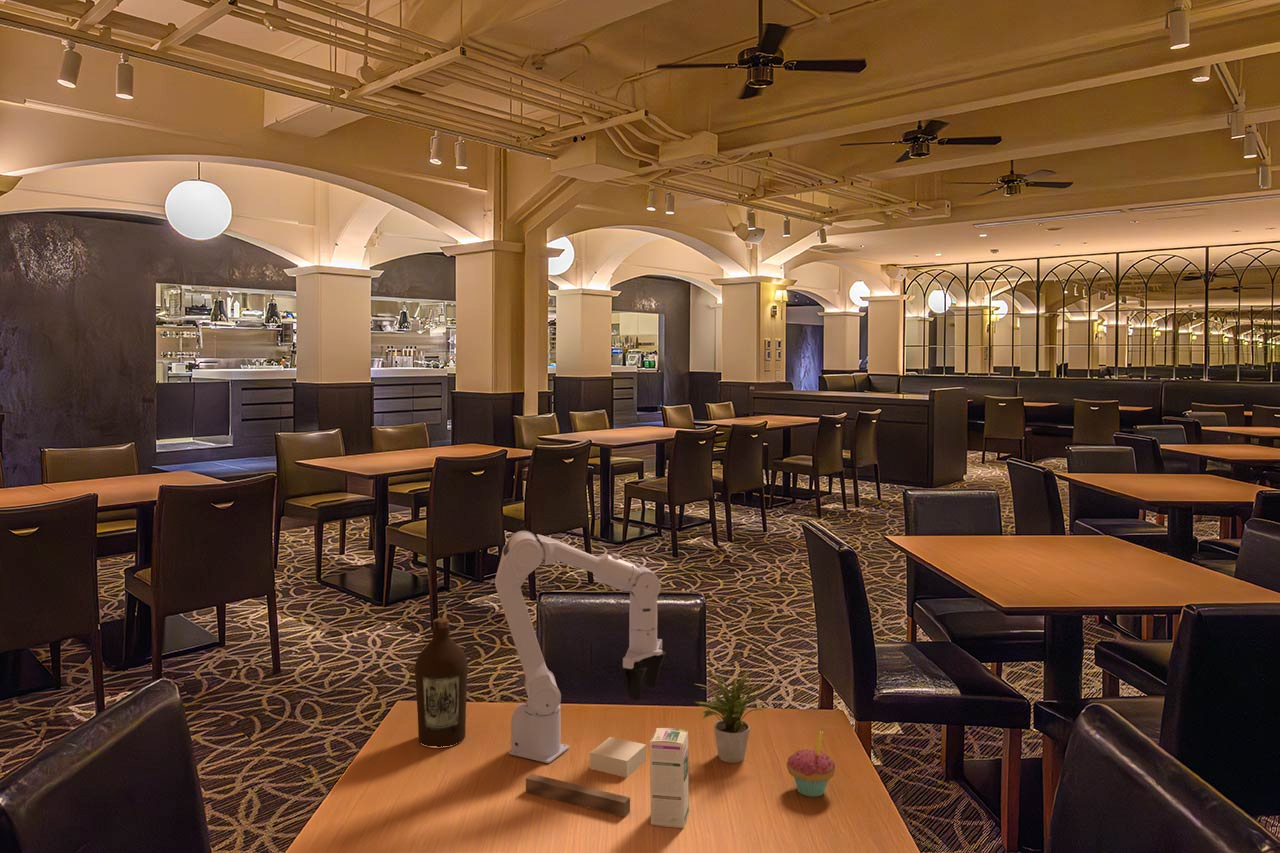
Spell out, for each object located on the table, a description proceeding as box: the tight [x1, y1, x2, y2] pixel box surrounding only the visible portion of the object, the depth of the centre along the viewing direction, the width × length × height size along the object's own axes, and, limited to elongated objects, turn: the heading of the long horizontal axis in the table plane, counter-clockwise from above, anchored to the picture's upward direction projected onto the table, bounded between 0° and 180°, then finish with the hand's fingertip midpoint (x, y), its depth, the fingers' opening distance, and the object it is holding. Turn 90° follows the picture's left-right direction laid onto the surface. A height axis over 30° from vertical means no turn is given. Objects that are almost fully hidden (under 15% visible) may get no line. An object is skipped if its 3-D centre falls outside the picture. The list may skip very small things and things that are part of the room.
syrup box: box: [649, 727, 690, 829], centre depth 140 cm, size 6×6×14 cm
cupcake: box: [786, 727, 836, 798], centre depth 149 cm, size 9×8×12 cm
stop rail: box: [525, 773, 631, 818], centre depth 146 cm, size 20×2×2 cm, turn 64°
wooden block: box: [589, 736, 647, 779], centre depth 160 cm, size 8×8×4 cm
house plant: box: [694, 671, 765, 764], centre depth 164 cm, size 14×14×16 cm
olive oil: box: [414, 617, 469, 747], centre depth 171 cm, size 11×11×25 cm
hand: (643, 692), depth 169 cm, fingers open, 7 cm apart
